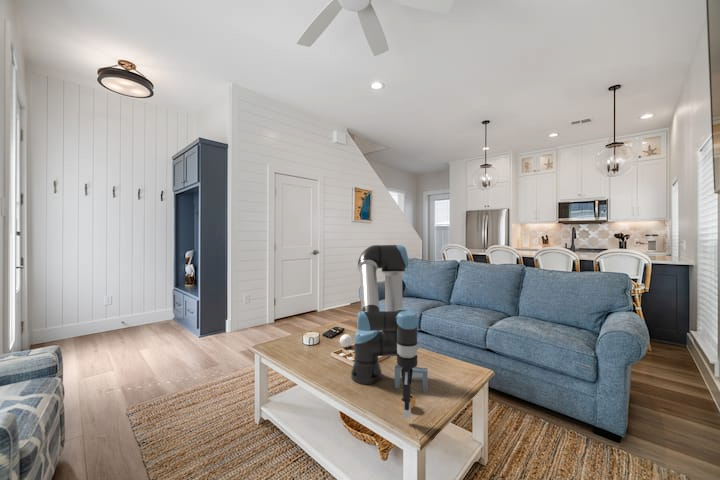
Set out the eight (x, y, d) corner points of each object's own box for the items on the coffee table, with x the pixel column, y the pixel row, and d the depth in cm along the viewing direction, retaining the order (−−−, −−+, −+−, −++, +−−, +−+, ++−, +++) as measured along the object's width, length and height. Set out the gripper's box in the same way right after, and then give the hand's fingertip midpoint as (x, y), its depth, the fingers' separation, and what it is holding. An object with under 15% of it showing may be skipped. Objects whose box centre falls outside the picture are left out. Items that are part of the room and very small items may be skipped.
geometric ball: (342, 351, 190) (335, 341, 190) (349, 343, 196) (342, 333, 196) (350, 348, 185) (342, 338, 185) (357, 340, 191) (349, 330, 191)
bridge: (427, 391, 138) (427, 371, 138) (394, 387, 141) (394, 368, 141) (427, 388, 141) (427, 368, 141) (395, 384, 144) (395, 365, 144)
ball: (401, 410, 123) (401, 397, 123) (402, 403, 129) (402, 390, 128) (415, 412, 122) (415, 399, 122) (415, 404, 127) (415, 391, 127)
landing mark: (398, 378, 150) (398, 378, 150) (400, 366, 162) (400, 366, 162) (425, 381, 147) (425, 381, 147) (426, 369, 160) (426, 369, 160)
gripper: (416, 362, 108) (416, 428, 109) (418, 348, 121) (417, 408, 121) (395, 360, 110) (395, 425, 110) (398, 347, 122) (398, 405, 123)
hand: (407, 416), depth 116 cm, fingers closed
